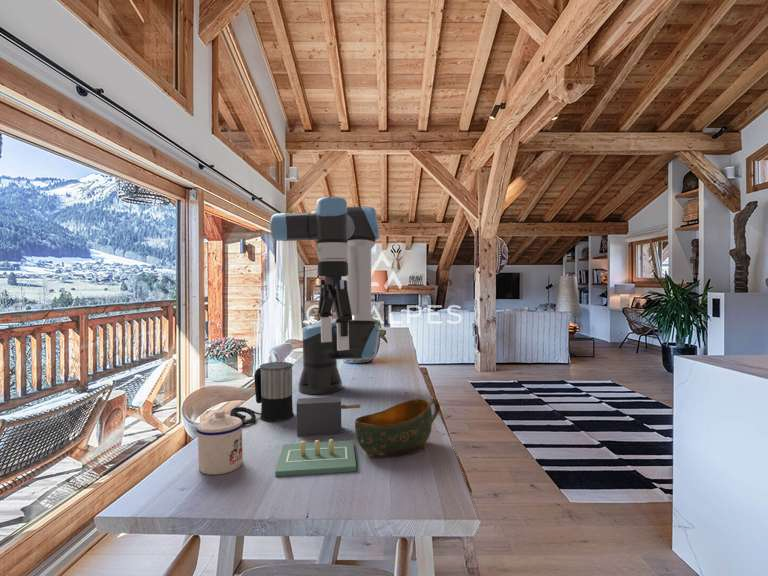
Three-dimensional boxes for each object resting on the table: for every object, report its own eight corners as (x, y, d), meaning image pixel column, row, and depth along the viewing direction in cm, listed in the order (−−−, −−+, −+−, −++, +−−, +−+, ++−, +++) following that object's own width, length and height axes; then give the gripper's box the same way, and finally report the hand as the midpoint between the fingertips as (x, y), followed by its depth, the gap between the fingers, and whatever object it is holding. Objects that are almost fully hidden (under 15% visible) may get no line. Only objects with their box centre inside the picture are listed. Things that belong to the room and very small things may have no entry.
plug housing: (298, 429, 112) (298, 398, 112) (360, 425, 114) (359, 395, 114) (297, 436, 107) (296, 404, 107) (361, 432, 109) (361, 401, 109)
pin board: (283, 448, 100) (283, 431, 100) (353, 444, 102) (352, 427, 101) (275, 476, 86) (274, 456, 86) (356, 471, 88) (355, 451, 88)
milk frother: (300, 413, 125) (299, 362, 125) (266, 432, 111) (264, 374, 110) (260, 408, 131) (259, 359, 130) (222, 425, 116) (221, 370, 116)
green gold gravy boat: (449, 459, 93) (447, 412, 92) (355, 463, 92) (354, 415, 92) (439, 437, 106) (438, 396, 105) (357, 440, 105) (356, 398, 105)
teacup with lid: (239, 474, 87) (237, 416, 87) (191, 477, 86) (190, 419, 85) (249, 450, 99) (248, 400, 99) (208, 453, 98) (206, 402, 97)
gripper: (305, 262, 117) (307, 340, 118) (333, 259, 95) (335, 355, 95) (332, 262, 120) (333, 337, 121) (365, 259, 98) (366, 352, 98)
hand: (334, 345), depth 108 cm, fingers open, 13 cm apart
